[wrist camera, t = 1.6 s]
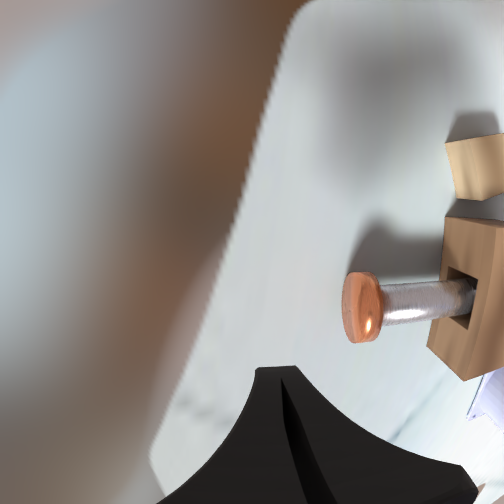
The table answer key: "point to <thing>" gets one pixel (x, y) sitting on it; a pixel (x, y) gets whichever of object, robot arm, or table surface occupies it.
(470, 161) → the block
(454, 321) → the block
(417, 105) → the table surface
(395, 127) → the table surface
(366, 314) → the pin
